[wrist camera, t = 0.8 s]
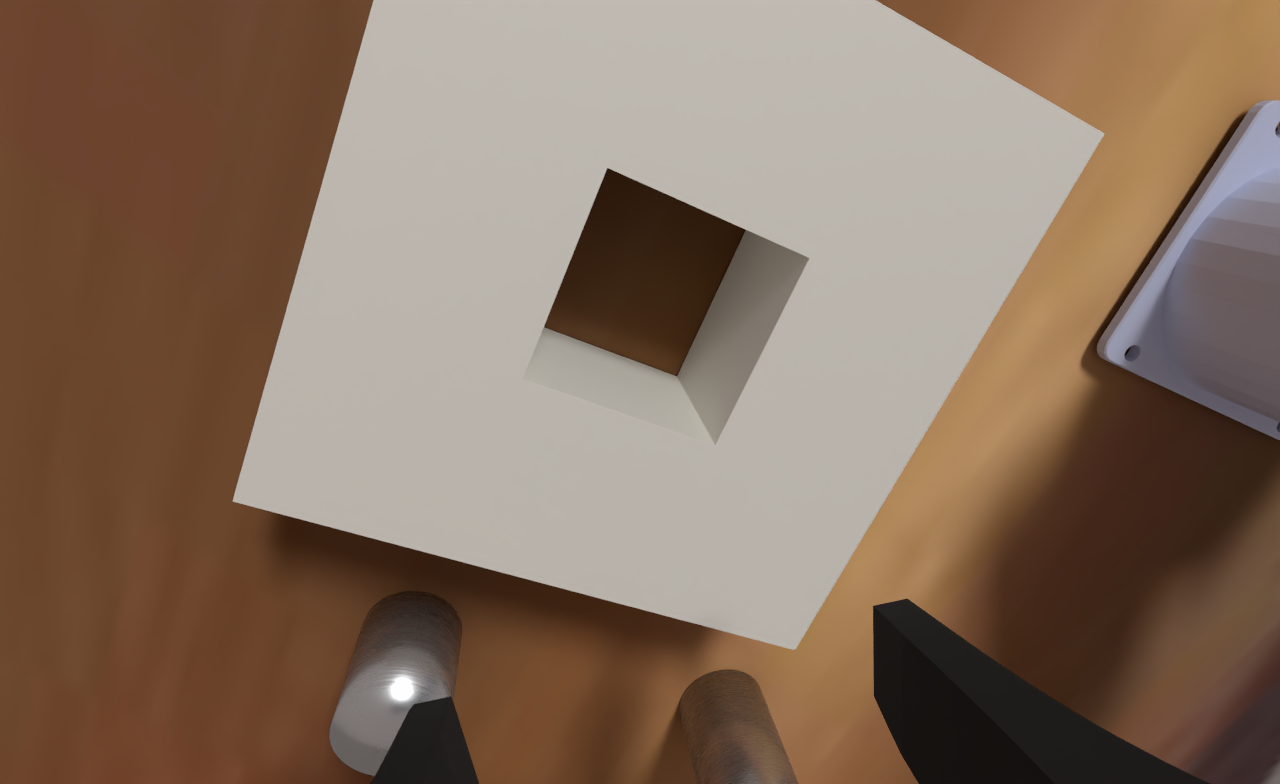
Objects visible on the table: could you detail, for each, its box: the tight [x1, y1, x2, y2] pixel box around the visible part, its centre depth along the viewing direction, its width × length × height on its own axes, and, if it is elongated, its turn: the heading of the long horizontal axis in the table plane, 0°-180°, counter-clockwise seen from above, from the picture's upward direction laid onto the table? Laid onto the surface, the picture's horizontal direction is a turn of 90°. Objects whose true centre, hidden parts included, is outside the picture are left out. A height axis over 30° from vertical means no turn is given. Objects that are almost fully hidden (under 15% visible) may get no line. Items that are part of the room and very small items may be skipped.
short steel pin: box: [329, 591, 462, 776], centre depth 20 cm, size 3×3×4 cm
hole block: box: [233, 0, 1104, 650], centre depth 17 cm, size 14×14×4 cm
